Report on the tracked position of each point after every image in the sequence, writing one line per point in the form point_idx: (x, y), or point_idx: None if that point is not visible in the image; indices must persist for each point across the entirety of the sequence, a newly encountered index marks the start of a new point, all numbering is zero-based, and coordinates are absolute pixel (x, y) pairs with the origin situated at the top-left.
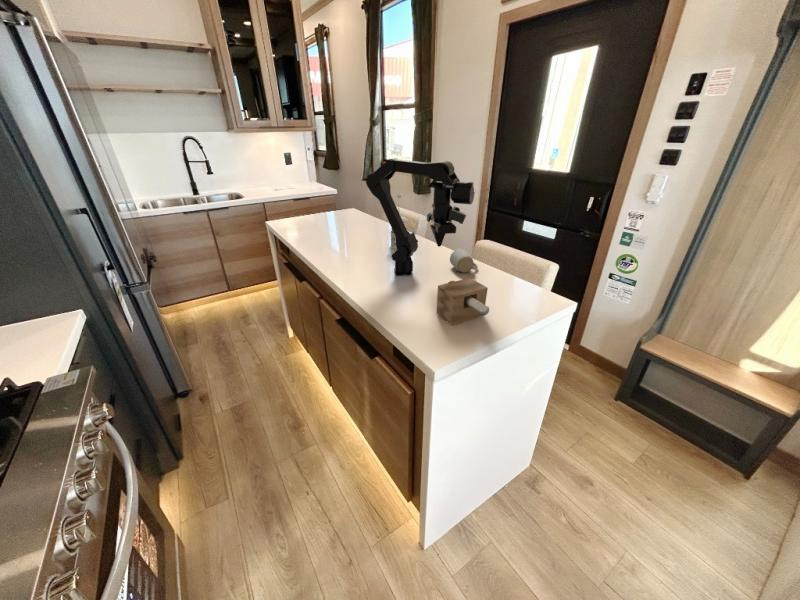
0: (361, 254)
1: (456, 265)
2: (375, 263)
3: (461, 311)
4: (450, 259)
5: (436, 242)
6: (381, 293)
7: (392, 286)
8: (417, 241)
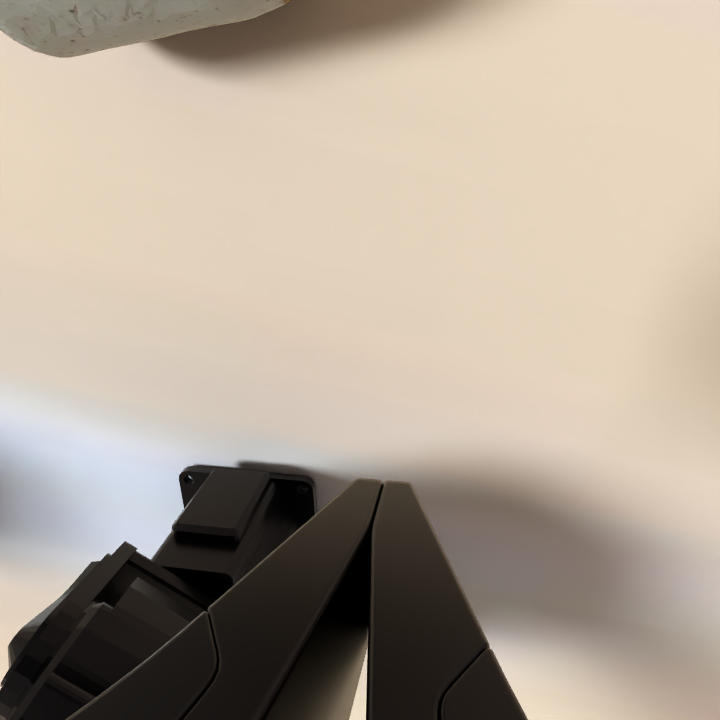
0: None
1: (261, 9)
2: None
3: None
4: (73, 53)
5: (365, 626)
6: (594, 712)
7: (500, 637)
8: (66, 699)
